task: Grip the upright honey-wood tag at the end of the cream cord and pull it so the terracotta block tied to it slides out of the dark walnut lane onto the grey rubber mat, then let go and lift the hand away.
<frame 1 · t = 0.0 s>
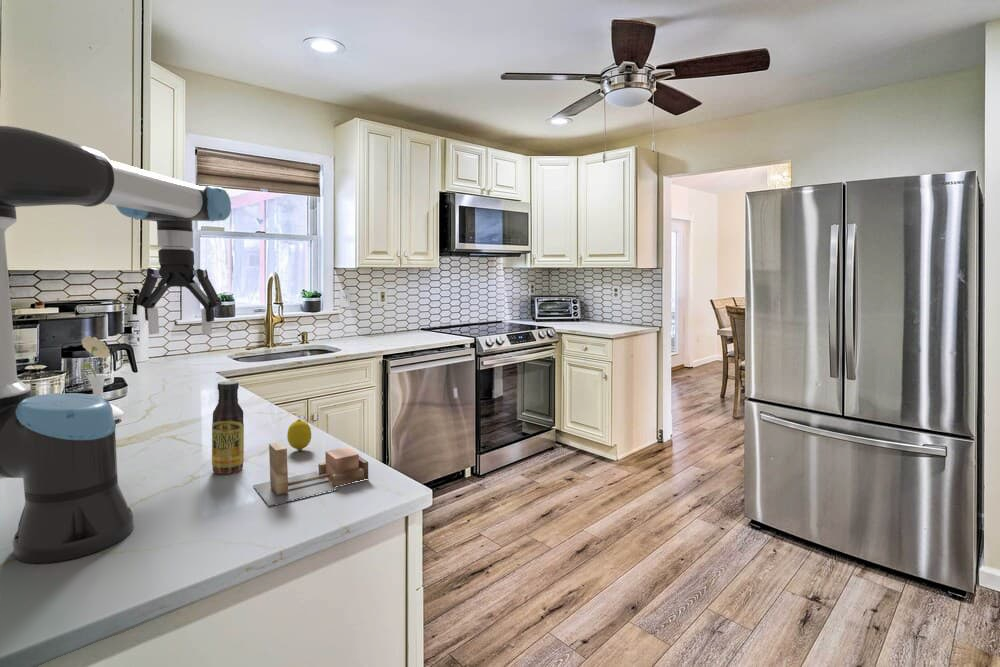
hand: (180, 334, 131), 28 cm above the counter, tool pointing down, fingers open, 13 cm apart
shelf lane: (326, 481, 111), on the counter
sauce bottle: (229, 471, 116), on the counter
lemon: (299, 451, 129), on the counter
flower in vase: (98, 422, 152), on the counter
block: (315, 460, 109), point 5 cm above the counter, slide at 0.0 cm
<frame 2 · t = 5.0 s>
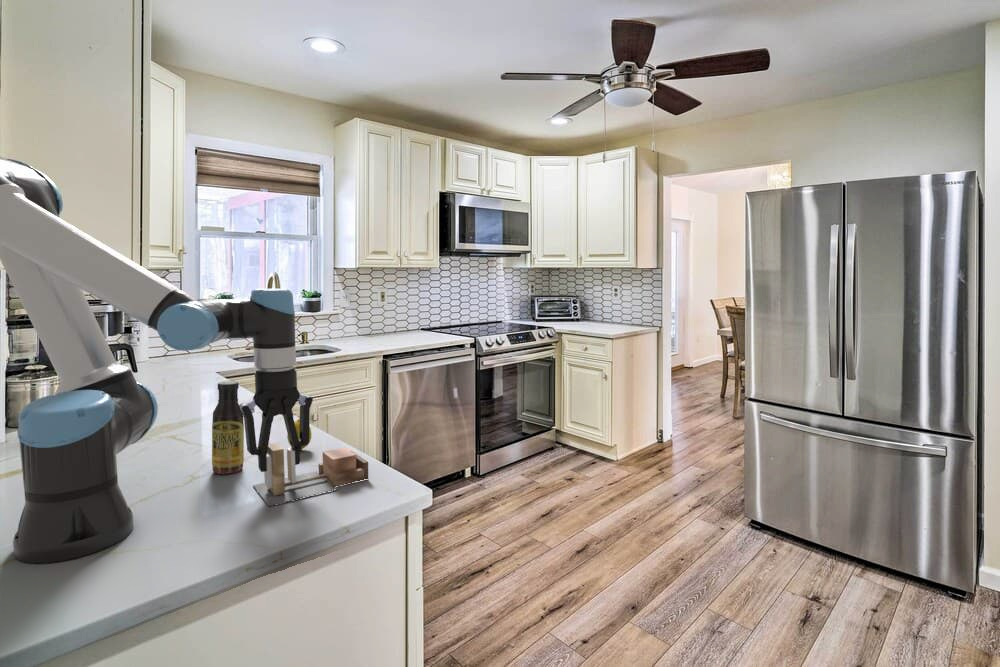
hand: (280, 483, 105), 2 cm above the counter, tool pointing down, fingers closed on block, 4 cm apart
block: (312, 461, 108), point 5 cm above the counter, slide at 0.6 cm, touching gripper
everything else where it was.
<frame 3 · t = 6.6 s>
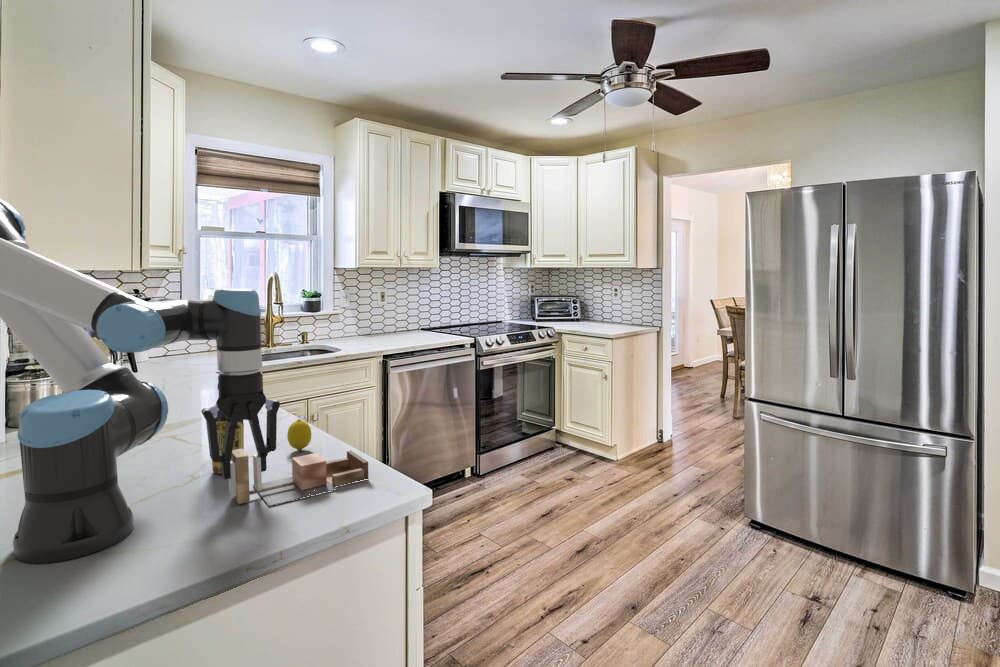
hand: (245, 490, 101), 2 cm above the counter, tool pointing down, fingers closed on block, 4 cm apart
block: (279, 467, 104), point 5 cm above the counter, slide at 7.0 cm, touching gripper
everything else where it was.
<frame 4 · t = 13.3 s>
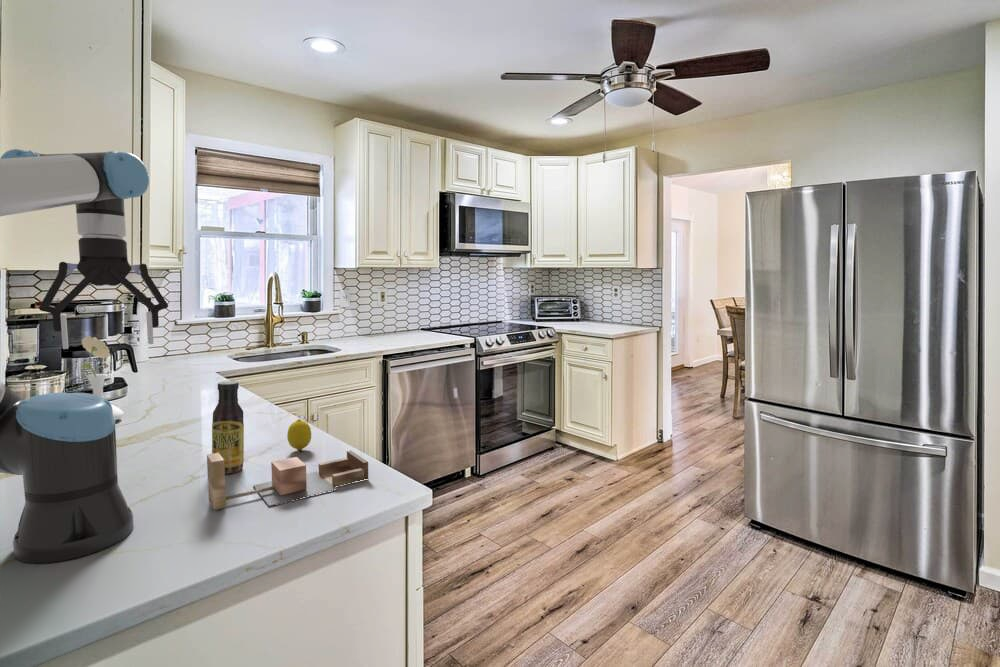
hand: (109, 345, 104), 29 cm above the counter, tool pointing down, fingers open, 13 cm apart
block: (258, 472, 102), point 5 cm above the counter, slide at 11.1 cm
everything else where it was.
at the end: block slide at 11.1 cm; the gripper is holding nothing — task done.
